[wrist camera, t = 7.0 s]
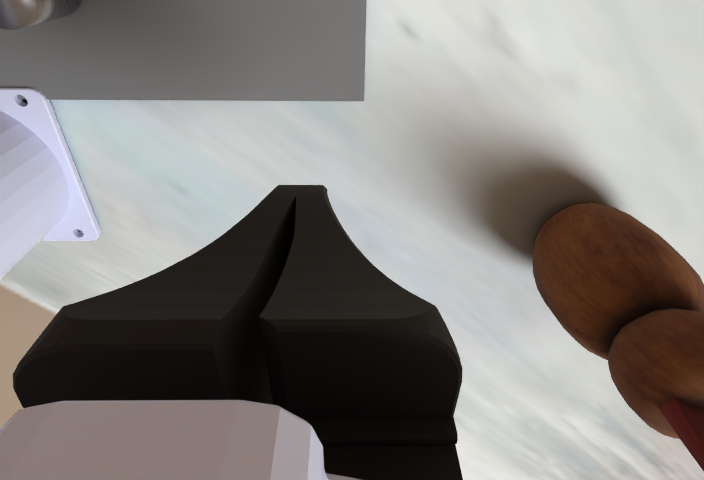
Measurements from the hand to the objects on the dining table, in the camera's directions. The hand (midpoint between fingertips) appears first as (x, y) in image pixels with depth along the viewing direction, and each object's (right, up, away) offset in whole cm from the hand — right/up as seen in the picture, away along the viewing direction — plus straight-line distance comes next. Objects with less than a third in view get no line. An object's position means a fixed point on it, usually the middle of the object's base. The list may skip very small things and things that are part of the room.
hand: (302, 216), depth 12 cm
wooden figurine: (+14, 0, +12) cm, 18 cm away
